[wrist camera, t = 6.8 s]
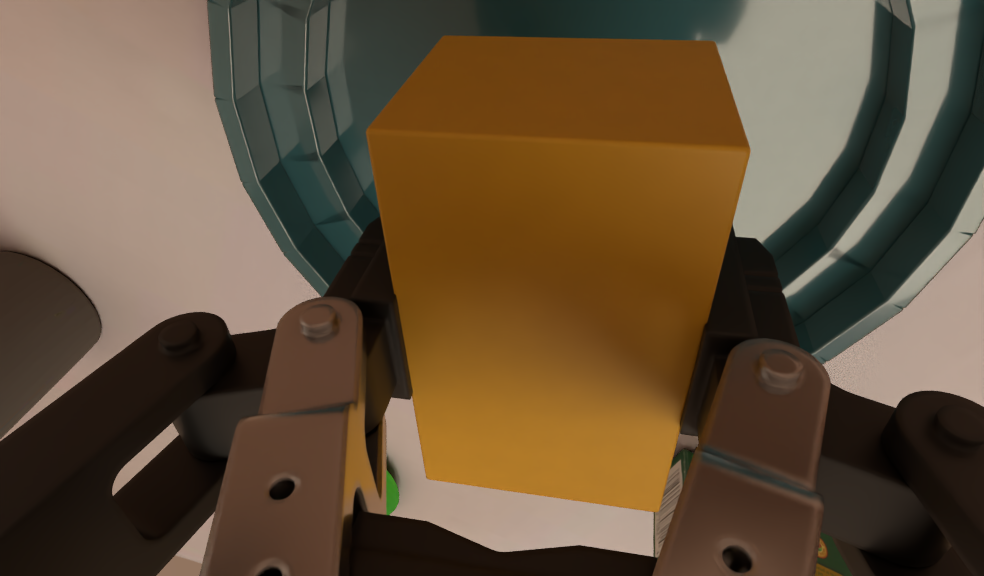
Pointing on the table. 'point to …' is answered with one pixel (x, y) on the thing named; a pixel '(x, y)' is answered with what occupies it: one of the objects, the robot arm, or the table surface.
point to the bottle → (38, 332)
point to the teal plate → (756, 90)
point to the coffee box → (829, 562)
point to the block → (557, 253)
